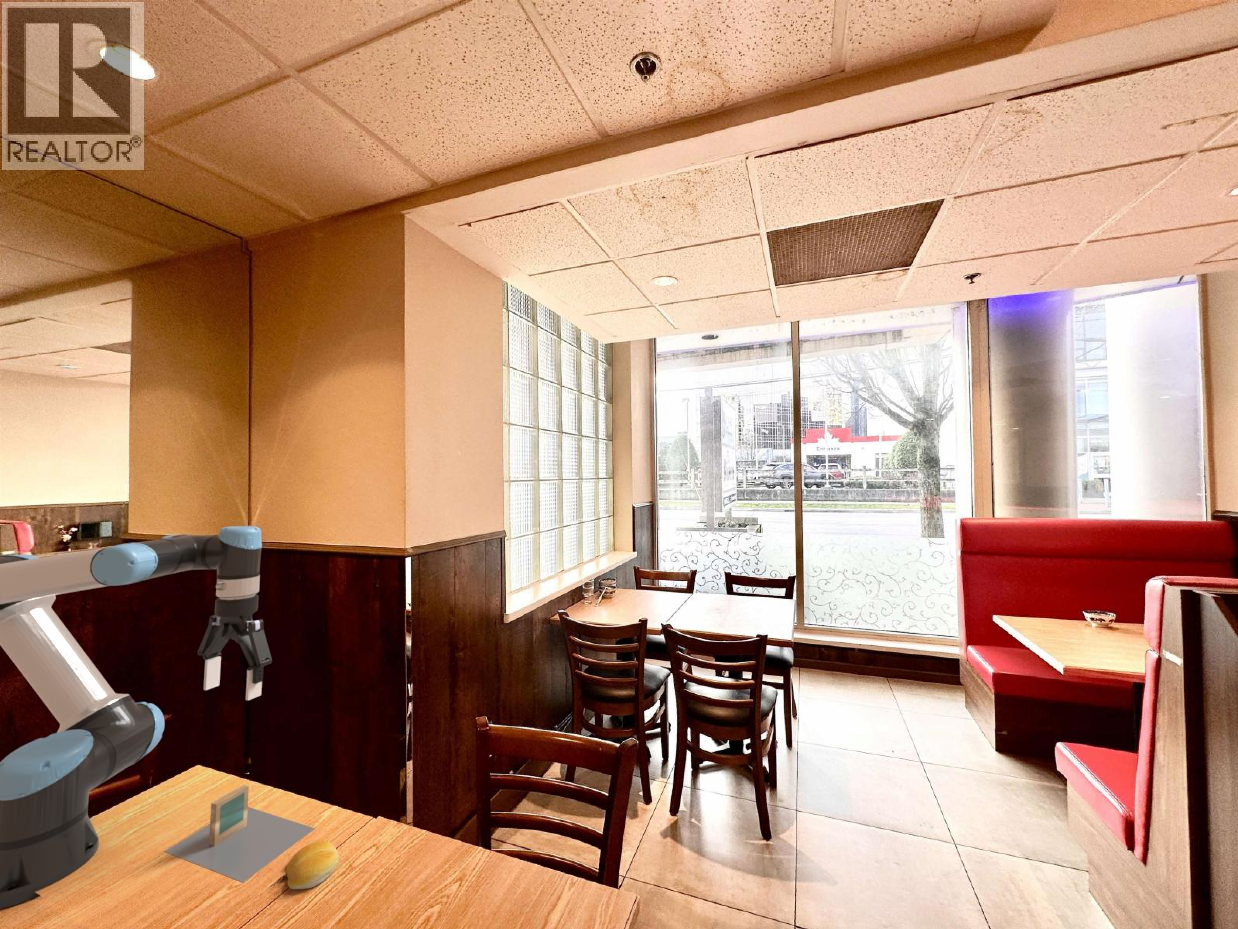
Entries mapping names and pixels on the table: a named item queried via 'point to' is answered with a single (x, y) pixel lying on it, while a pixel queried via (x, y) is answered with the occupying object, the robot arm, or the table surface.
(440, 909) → the table surface
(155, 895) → the table surface
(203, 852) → the slate board
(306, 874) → the bread roll
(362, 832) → the table surface
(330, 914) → the table surface
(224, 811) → the light wood flat block
